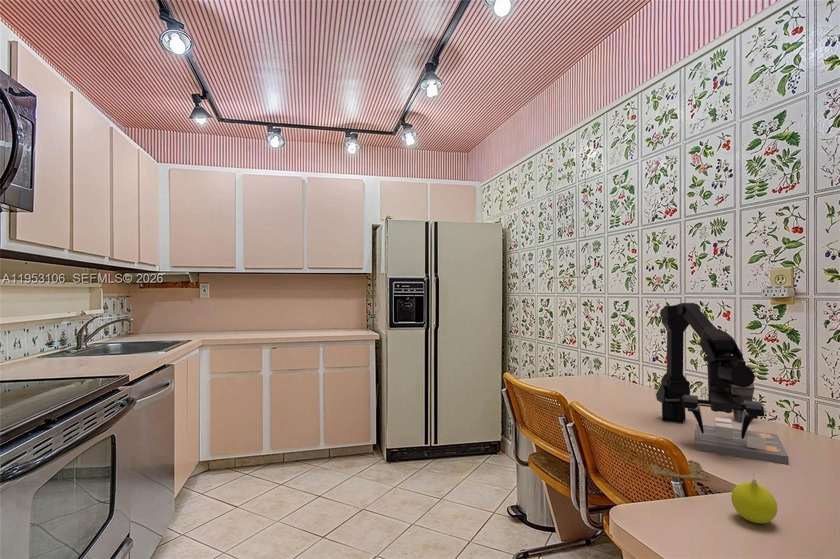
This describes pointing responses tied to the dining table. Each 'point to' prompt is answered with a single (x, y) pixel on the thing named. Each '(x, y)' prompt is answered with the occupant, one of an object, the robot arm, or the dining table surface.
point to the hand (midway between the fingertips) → (722, 435)
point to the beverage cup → (742, 399)
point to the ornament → (754, 502)
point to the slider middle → (724, 430)
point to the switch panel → (740, 445)
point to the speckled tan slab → (695, 474)
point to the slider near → (755, 440)
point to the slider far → (723, 421)
